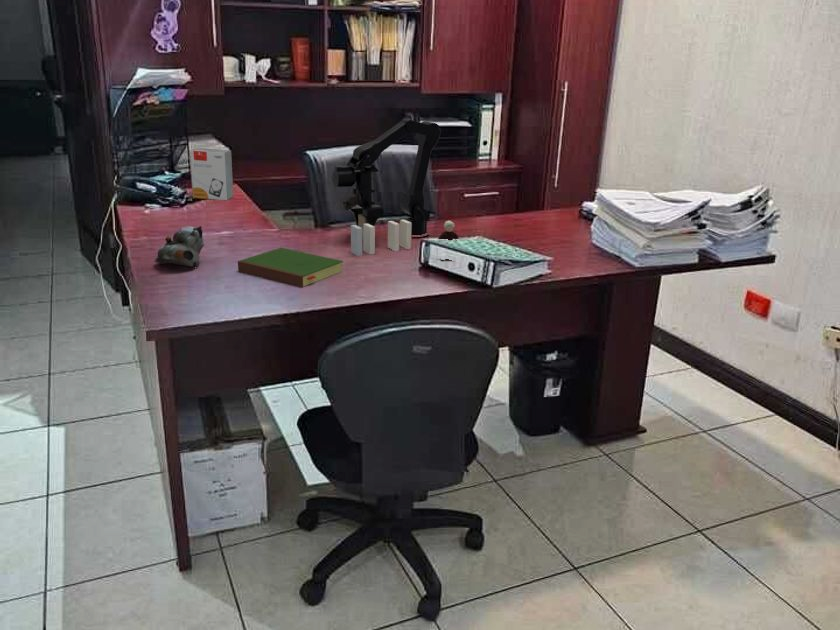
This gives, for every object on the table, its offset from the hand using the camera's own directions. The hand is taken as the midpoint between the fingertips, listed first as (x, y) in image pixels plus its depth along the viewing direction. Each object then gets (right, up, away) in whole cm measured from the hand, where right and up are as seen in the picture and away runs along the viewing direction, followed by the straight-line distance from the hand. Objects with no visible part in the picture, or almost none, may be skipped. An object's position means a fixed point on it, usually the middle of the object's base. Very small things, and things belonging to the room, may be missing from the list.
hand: (363, 231), depth 251 cm
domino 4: (+10, -7, -7) cm, 14 cm away
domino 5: (+14, -6, -5) cm, 16 cm away
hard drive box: (-68, +21, +60) cm, 93 cm away
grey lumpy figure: (-53, -14, -30) cm, 62 cm away
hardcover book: (-19, -16, -33) cm, 41 cm away
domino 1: (-1, -9, -14) cm, 16 cm away
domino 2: (0, -3, +1) cm, 4 cm away
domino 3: (+3, -8, -11) cm, 14 cm away
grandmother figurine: (+28, -11, -17) cm, 34 cm away
